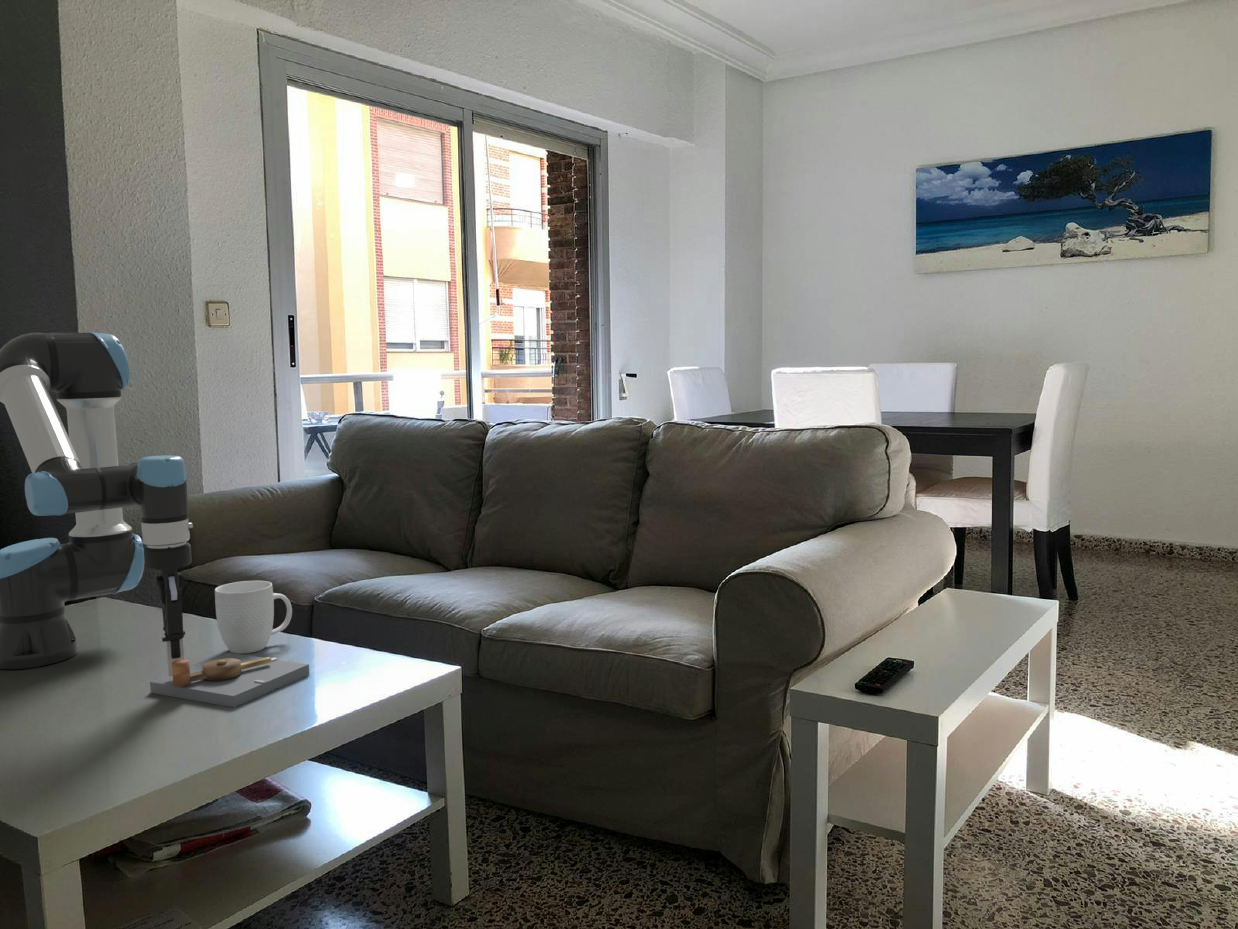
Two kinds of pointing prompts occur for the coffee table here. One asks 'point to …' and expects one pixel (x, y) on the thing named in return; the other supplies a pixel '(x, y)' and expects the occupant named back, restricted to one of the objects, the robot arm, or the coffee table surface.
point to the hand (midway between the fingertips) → (176, 673)
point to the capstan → (211, 670)
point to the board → (234, 682)
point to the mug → (248, 615)
